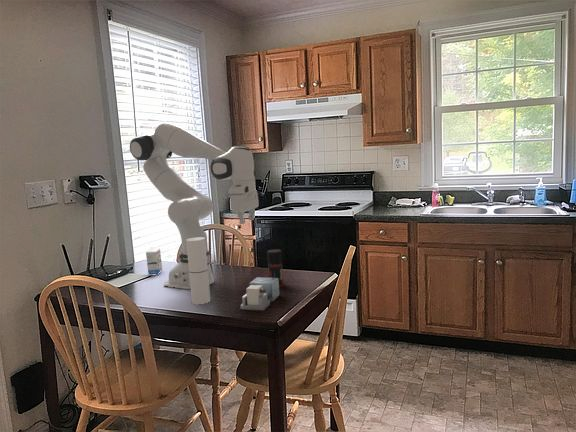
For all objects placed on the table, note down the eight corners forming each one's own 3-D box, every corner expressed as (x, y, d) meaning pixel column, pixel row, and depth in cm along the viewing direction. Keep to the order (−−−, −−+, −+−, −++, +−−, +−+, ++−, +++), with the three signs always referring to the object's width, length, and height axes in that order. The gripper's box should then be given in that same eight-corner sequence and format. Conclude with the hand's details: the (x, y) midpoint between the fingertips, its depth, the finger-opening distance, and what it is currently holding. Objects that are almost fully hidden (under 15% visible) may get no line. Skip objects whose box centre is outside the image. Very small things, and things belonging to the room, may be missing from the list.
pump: (264, 305, 171) (263, 289, 170) (247, 304, 173) (246, 288, 172) (268, 301, 176) (267, 285, 175) (252, 300, 178) (250, 285, 177)
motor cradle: (263, 310, 170) (262, 291, 169) (240, 309, 173) (239, 290, 172) (281, 293, 189) (279, 276, 188) (260, 292, 192) (258, 275, 191)
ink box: (158, 275, 232) (155, 251, 230) (148, 275, 232) (145, 252, 230) (162, 270, 240) (160, 248, 238) (153, 271, 240) (150, 248, 239)
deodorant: (281, 287, 197) (279, 252, 195) (268, 287, 198) (265, 252, 196) (284, 283, 203) (282, 249, 201) (271, 283, 204) (268, 249, 202)
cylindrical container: (194, 305, 180) (188, 241, 177) (190, 300, 187) (184, 238, 183) (212, 302, 183) (206, 239, 180) (207, 297, 190) (202, 236, 186)
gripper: (247, 185, 198) (249, 218, 200) (226, 190, 179) (229, 226, 181) (261, 184, 196) (263, 217, 198) (241, 189, 177) (244, 226, 179)
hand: (247, 221), depth 189 cm, fingers open, 8 cm apart
